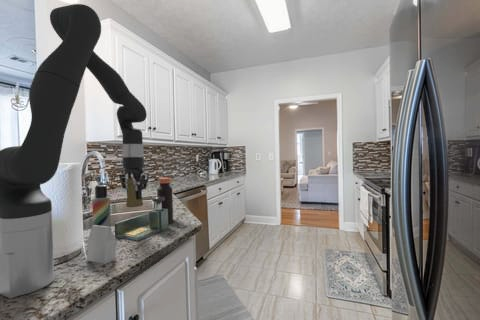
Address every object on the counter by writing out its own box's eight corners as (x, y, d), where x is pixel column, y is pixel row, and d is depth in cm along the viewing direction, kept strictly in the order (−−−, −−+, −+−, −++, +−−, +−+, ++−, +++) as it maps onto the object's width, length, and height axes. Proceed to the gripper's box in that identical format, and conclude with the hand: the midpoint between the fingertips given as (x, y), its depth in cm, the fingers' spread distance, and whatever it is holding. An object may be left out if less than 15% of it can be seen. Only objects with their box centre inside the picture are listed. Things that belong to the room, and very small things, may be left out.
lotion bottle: (95, 236, 88) (94, 184, 88) (112, 234, 90) (111, 183, 89) (91, 241, 83) (89, 186, 82) (109, 239, 85) (107, 185, 84)
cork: (136, 207, 86) (135, 178, 86) (122, 207, 88) (121, 178, 87) (146, 204, 92) (145, 176, 92) (132, 203, 94) (132, 176, 93)
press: (138, 241, 83) (138, 218, 83) (115, 236, 88) (114, 215, 88) (169, 227, 97) (169, 209, 97) (147, 224, 102) (147, 206, 102)
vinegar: (157, 223, 104) (156, 179, 104) (158, 219, 111) (157, 177, 110) (172, 222, 106) (171, 178, 105) (173, 218, 113) (172, 177, 112)
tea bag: (105, 264, 66) (104, 229, 65) (87, 260, 68) (86, 227, 68) (115, 258, 69) (115, 225, 69) (99, 255, 71) (98, 223, 71)
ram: (159, 219, 92) (158, 199, 92) (150, 218, 94) (149, 198, 94) (167, 216, 97) (166, 196, 97) (158, 215, 99) (158, 196, 99)
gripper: (111, 156, 89) (113, 200, 89) (138, 155, 83) (140, 203, 84) (128, 156, 96) (129, 197, 96) (154, 155, 90) (155, 199, 90)
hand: (134, 199), depth 90 cm, fingers closed on cork, 3 cm apart
